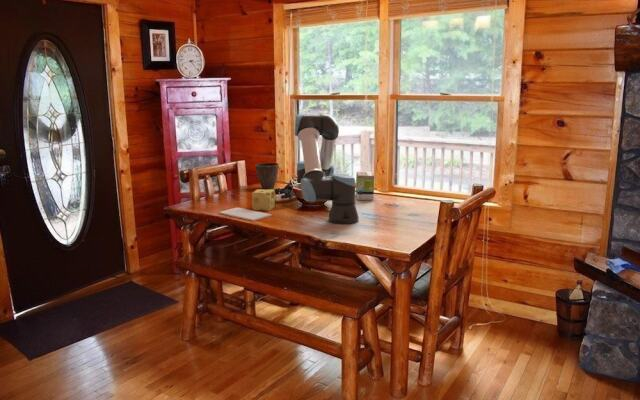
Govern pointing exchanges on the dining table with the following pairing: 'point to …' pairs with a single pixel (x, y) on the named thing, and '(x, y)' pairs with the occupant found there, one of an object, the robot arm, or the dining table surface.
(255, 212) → the mat
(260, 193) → the cheese
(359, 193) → the tea box
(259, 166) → the plant pot
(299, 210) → the dining table surface
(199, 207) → the dining table surface
